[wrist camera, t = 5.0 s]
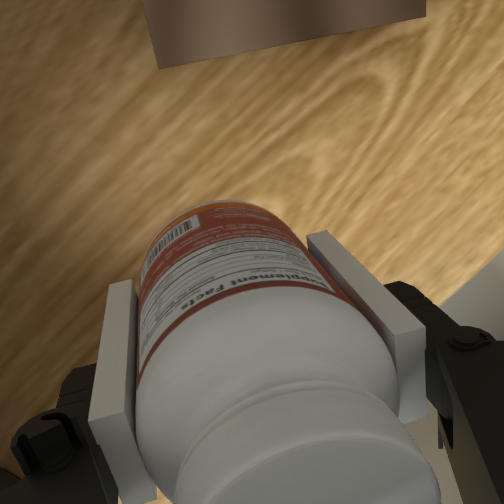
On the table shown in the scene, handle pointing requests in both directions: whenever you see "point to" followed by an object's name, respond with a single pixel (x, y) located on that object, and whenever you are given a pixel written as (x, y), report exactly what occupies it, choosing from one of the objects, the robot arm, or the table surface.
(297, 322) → the pill bottle
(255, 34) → the bore block
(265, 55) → the table surface
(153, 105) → the table surface
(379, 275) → the table surface
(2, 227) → the table surface
